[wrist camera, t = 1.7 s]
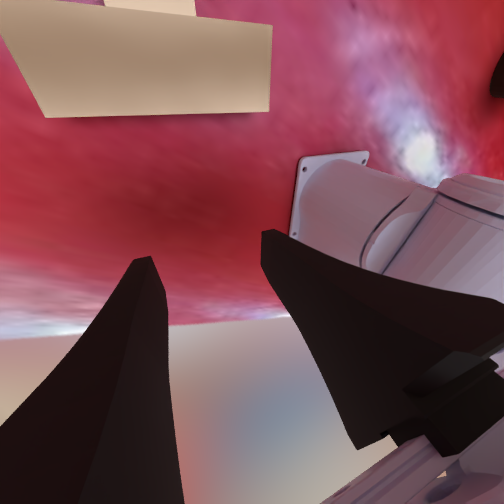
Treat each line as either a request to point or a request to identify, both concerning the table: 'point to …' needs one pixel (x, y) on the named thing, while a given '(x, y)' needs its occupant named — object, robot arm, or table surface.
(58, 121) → the table surface
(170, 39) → the T block
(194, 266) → the table surface
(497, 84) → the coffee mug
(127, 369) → the robot arm
